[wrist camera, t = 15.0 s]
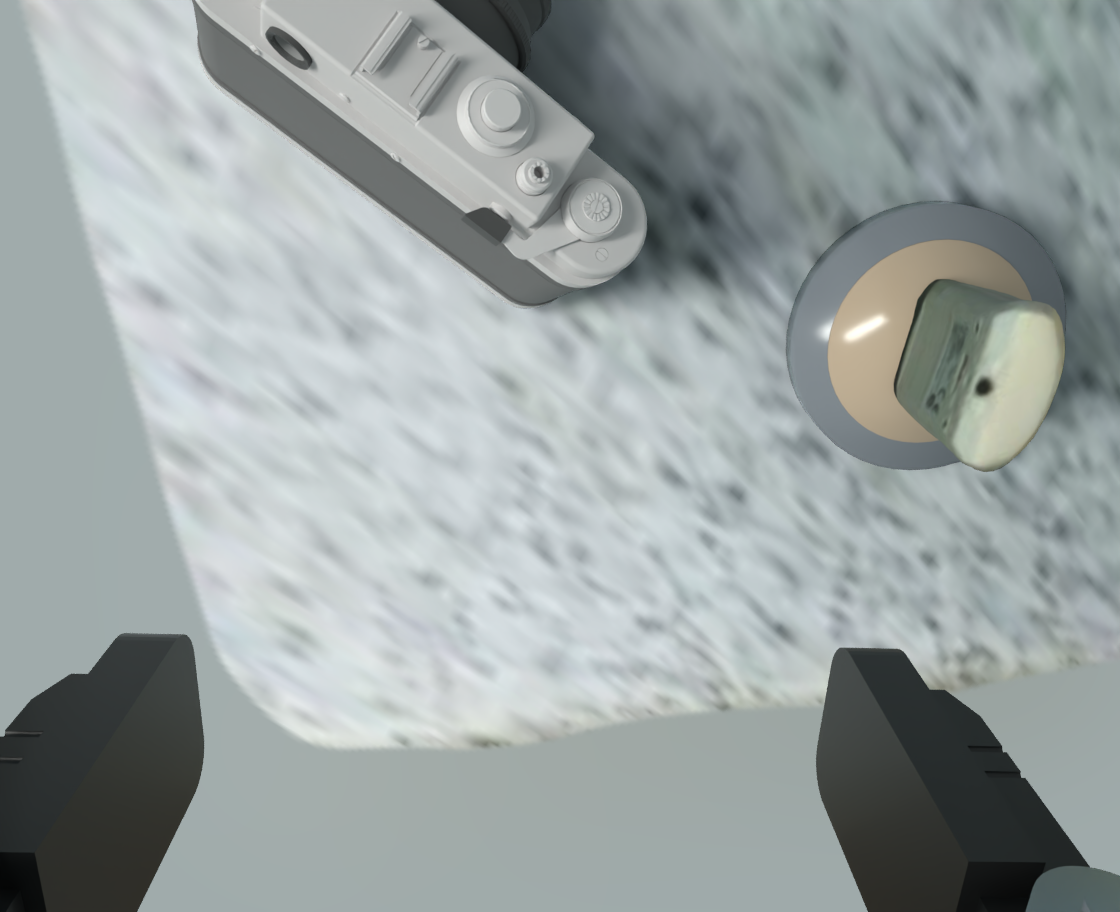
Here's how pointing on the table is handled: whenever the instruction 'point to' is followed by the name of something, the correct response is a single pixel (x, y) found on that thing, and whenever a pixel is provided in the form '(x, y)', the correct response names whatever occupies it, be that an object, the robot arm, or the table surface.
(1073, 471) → the table surface
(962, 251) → the coaster
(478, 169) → the camera
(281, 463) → the table surface
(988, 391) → the off-white rounded piece
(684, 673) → the table surface
